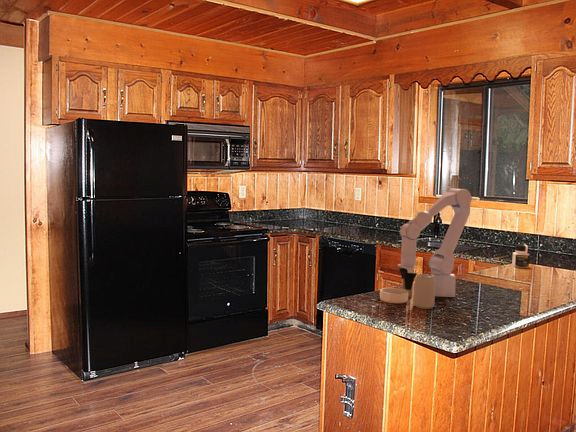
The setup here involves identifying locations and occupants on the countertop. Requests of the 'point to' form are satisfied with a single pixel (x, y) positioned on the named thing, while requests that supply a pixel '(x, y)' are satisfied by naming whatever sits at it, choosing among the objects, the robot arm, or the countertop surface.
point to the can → (424, 291)
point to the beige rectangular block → (405, 289)
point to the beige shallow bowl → (393, 295)
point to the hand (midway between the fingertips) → (406, 287)
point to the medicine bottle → (521, 256)
